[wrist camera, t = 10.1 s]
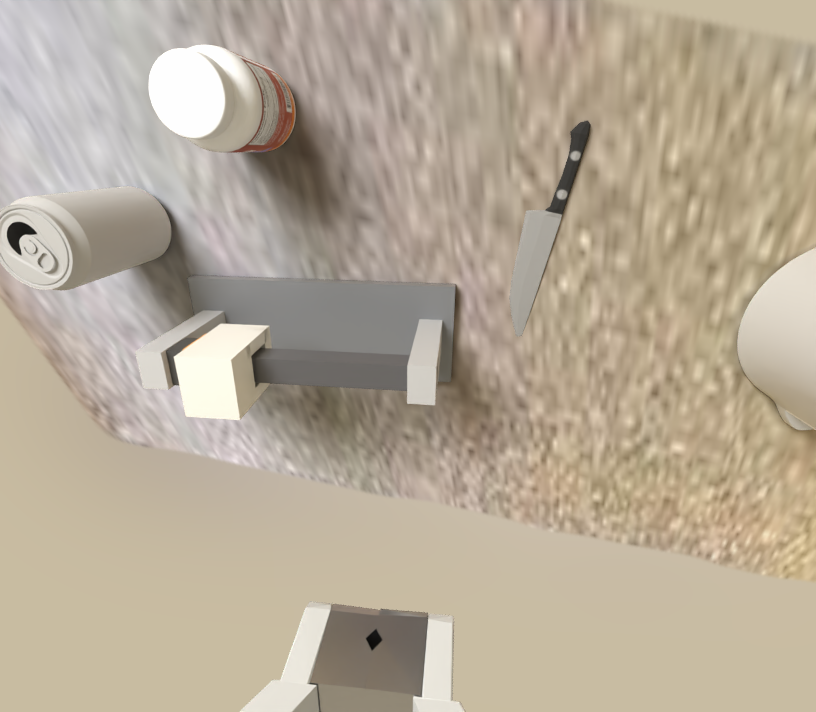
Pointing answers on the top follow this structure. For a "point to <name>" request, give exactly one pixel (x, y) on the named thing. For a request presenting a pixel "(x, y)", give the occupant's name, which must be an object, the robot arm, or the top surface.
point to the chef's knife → (542, 236)
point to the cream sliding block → (221, 371)
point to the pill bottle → (221, 100)
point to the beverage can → (81, 235)
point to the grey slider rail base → (322, 332)
